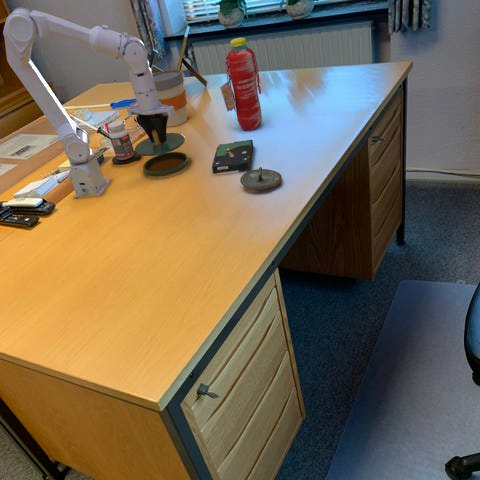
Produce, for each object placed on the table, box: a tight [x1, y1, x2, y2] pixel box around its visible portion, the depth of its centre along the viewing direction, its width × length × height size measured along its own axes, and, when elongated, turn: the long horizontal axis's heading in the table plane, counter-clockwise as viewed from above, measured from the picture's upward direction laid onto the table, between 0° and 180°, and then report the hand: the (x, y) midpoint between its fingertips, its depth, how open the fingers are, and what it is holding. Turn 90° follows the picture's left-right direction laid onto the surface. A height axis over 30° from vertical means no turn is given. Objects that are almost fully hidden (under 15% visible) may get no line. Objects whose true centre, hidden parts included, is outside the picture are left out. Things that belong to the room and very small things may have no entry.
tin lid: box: [134, 129, 186, 157], centre depth 134 cm, size 14×14×5 cm
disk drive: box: [211, 139, 255, 174], centre depth 135 cm, size 10×3×15 cm
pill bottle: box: [107, 120, 135, 160], centre depth 145 cm, size 6×6×10 cm
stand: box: [111, 149, 142, 166], centre depth 149 cm, size 9×9×1 cm
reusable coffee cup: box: [152, 69, 188, 128], centre depth 164 cm, size 13×13×15 cm
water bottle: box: [220, 37, 263, 131], centre depth 145 cm, size 12×8×25 cm, turn 90°
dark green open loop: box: [142, 151, 190, 178], centre depth 139 cm, size 13×13×2 cm
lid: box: [239, 166, 283, 190], centre depth 121 cm, size 11×10×5 cm
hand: (159, 141), depth 134 cm, fingers closed on tin lid, 2 cm apart
